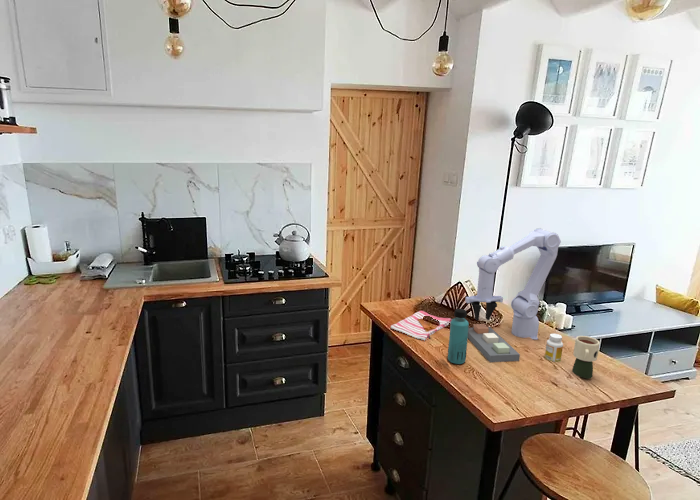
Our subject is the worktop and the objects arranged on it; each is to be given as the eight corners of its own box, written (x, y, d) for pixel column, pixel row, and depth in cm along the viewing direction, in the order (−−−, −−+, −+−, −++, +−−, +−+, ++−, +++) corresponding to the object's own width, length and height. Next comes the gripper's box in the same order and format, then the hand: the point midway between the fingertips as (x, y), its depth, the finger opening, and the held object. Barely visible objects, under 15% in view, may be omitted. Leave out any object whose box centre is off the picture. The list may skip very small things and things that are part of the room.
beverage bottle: (455, 369, 153) (460, 315, 148) (442, 361, 159) (447, 308, 154) (469, 365, 156) (474, 312, 151) (457, 357, 162) (461, 305, 157)
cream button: (492, 340, 171) (493, 332, 170) (497, 344, 167) (498, 337, 166) (482, 340, 171) (483, 333, 170) (487, 345, 166) (487, 337, 166)
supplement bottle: (559, 358, 163) (563, 333, 161) (561, 365, 158) (565, 339, 156) (543, 356, 165) (547, 331, 162) (544, 362, 160) (548, 337, 158)
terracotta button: (483, 331, 179) (484, 324, 179) (487, 335, 175) (488, 328, 175) (473, 331, 179) (474, 324, 178) (477, 335, 175) (478, 328, 174)
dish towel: (452, 325, 191) (453, 318, 191) (424, 343, 174) (425, 334, 173) (418, 315, 202) (419, 308, 201) (388, 330, 185) (389, 322, 184)
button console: (489, 335, 182) (490, 327, 181) (518, 363, 159) (519, 354, 158) (463, 335, 180) (464, 327, 179) (489, 364, 157) (490, 355, 156)
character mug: (594, 385, 145) (600, 348, 142) (570, 380, 148) (575, 344, 145) (593, 370, 155) (599, 336, 152) (570, 366, 158) (575, 331, 155)
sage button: (503, 350, 163) (504, 342, 162) (508, 355, 159) (509, 347, 158) (492, 350, 162) (493, 343, 162) (497, 356, 158) (498, 348, 158)
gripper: (471, 290, 168) (468, 324, 171) (508, 289, 170) (504, 322, 173) (464, 284, 174) (461, 316, 178) (499, 283, 176) (496, 315, 180)
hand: (482, 319), depth 176 cm, fingers open, 4 cm apart
